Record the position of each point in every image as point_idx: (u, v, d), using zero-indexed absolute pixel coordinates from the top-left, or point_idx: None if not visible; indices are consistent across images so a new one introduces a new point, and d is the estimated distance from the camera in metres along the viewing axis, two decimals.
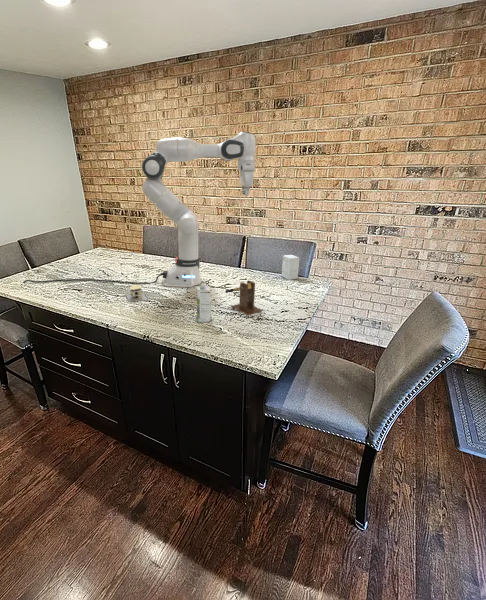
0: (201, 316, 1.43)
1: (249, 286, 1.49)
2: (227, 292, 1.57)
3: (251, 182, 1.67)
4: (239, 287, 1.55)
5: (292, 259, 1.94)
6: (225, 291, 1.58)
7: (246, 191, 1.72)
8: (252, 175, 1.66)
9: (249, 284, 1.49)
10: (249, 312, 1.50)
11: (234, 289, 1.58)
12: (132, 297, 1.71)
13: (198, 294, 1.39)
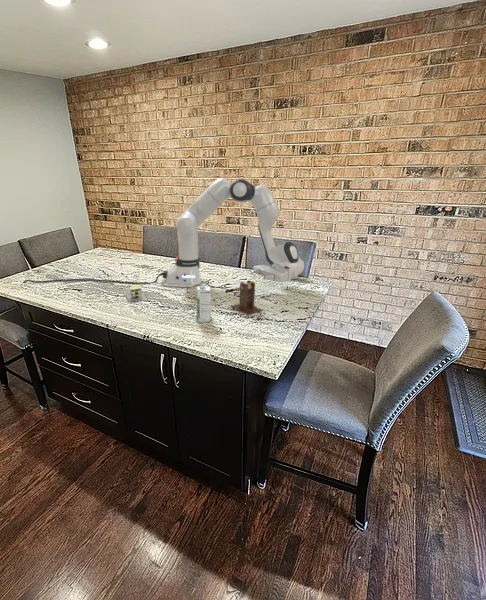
0: (201, 316, 1.43)
1: (249, 286, 1.49)
2: (227, 292, 1.57)
3: (282, 280, 1.62)
4: (239, 287, 1.55)
5: None
6: (225, 291, 1.58)
7: (269, 276, 1.62)
8: (286, 280, 1.64)
9: (249, 284, 1.49)
10: (249, 312, 1.50)
11: (234, 289, 1.58)
12: (132, 297, 1.71)
13: (198, 294, 1.39)
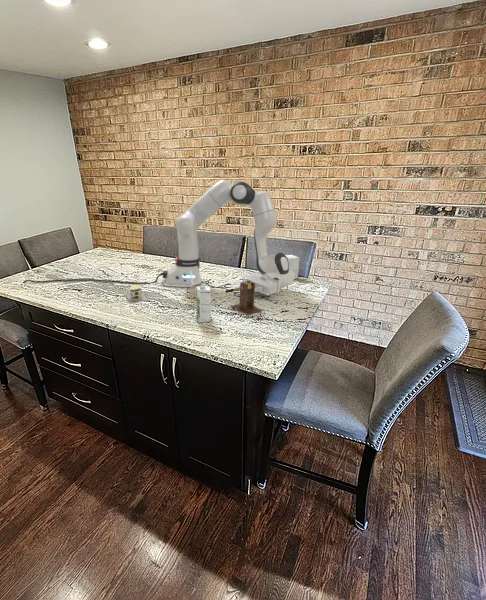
0: (201, 316, 1.43)
1: (249, 286, 1.49)
2: (227, 292, 1.57)
3: (271, 292, 1.60)
4: (239, 287, 1.55)
5: (292, 259, 1.94)
6: (225, 291, 1.58)
7: (258, 288, 1.61)
8: (275, 291, 1.62)
9: (249, 284, 1.49)
10: (249, 312, 1.50)
11: (234, 289, 1.58)
12: (132, 297, 1.71)
13: (198, 294, 1.39)
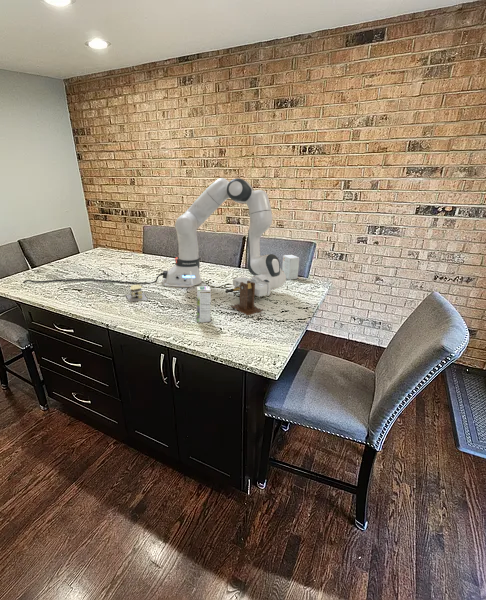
0: (201, 316, 1.43)
1: (249, 286, 1.49)
2: (227, 292, 1.57)
3: (261, 295, 1.57)
4: (239, 287, 1.55)
5: (292, 259, 1.94)
6: (225, 291, 1.58)
7: None
8: (265, 294, 1.59)
9: (249, 284, 1.49)
10: (249, 312, 1.50)
11: (234, 289, 1.58)
12: (132, 297, 1.71)
13: (198, 294, 1.39)
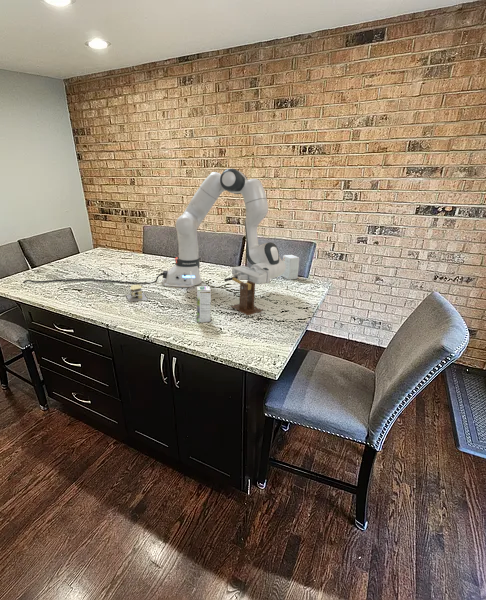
0: (201, 316, 1.43)
1: (249, 288, 1.49)
2: None
3: (260, 282, 1.56)
4: (239, 281, 1.54)
5: (292, 259, 1.94)
6: (224, 279, 1.57)
7: (242, 276, 1.59)
8: (265, 282, 1.58)
9: (250, 286, 1.49)
10: (249, 312, 1.50)
11: (233, 279, 1.57)
12: (132, 297, 1.71)
13: (198, 294, 1.39)
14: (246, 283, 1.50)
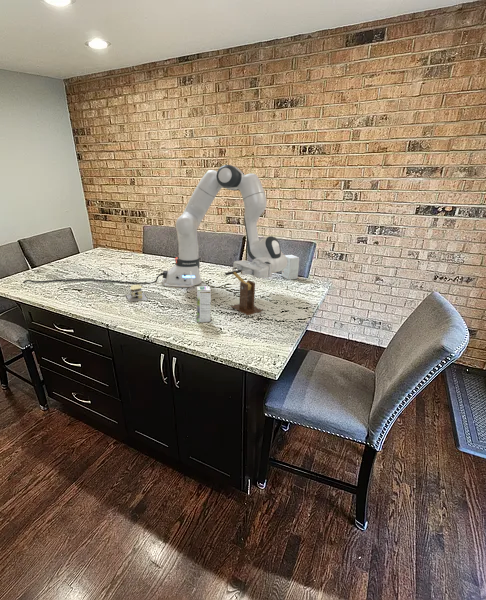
0: (201, 316, 1.43)
1: (249, 288, 1.50)
2: None
3: (262, 276, 1.54)
4: (240, 278, 1.53)
5: (292, 259, 1.94)
6: (225, 273, 1.55)
7: (246, 271, 1.55)
8: (266, 276, 1.56)
9: (250, 287, 1.49)
10: (249, 312, 1.50)
11: (234, 274, 1.56)
12: (132, 297, 1.71)
13: (198, 294, 1.39)
14: (247, 283, 1.50)
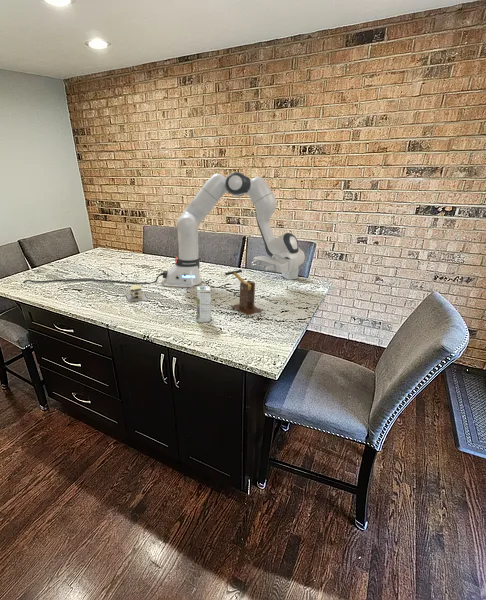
0: (201, 316, 1.43)
1: (249, 288, 1.50)
2: None
3: (282, 271, 1.60)
4: (240, 278, 1.53)
5: None
6: (225, 273, 1.55)
7: (269, 267, 1.60)
8: (286, 270, 1.62)
9: (250, 287, 1.49)
10: (249, 312, 1.50)
11: (234, 274, 1.56)
12: (132, 297, 1.71)
13: (198, 294, 1.39)
14: (247, 283, 1.50)
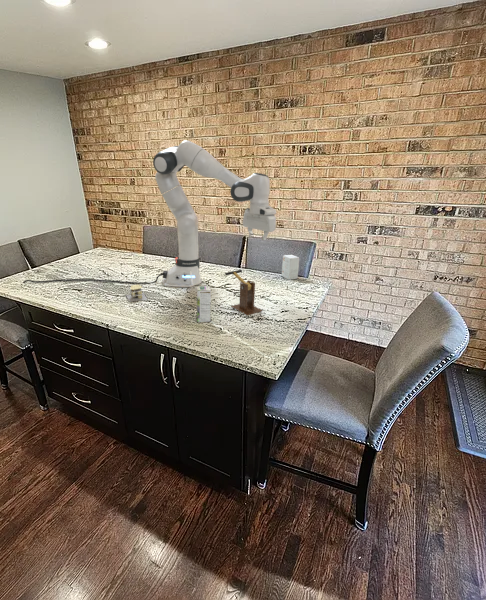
0: (201, 316, 1.43)
1: (249, 288, 1.50)
2: None
3: (274, 227, 1.55)
4: (240, 278, 1.53)
5: (292, 259, 1.94)
6: (225, 273, 1.55)
7: (265, 235, 1.60)
8: (275, 219, 1.55)
9: (250, 287, 1.49)
10: (249, 312, 1.50)
11: (234, 274, 1.56)
12: (132, 297, 1.71)
13: (198, 294, 1.39)
14: (247, 283, 1.50)
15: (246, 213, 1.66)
